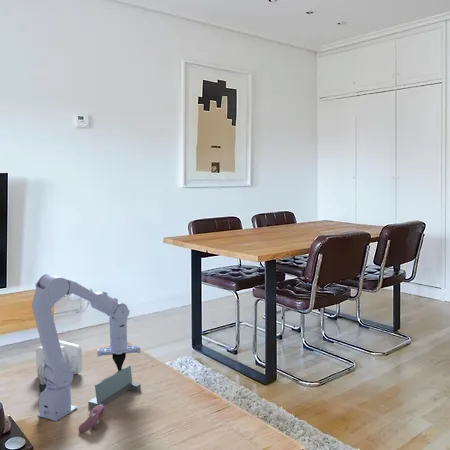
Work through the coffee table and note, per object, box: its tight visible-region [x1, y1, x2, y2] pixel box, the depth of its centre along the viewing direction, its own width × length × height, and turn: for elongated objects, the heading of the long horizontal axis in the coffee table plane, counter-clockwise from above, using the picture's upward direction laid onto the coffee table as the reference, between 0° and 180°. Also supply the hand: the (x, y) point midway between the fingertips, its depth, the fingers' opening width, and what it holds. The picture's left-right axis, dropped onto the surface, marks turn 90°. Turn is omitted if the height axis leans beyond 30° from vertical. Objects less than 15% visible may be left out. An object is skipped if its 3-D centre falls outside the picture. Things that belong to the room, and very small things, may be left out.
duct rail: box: [87, 382, 142, 409], centre depth 166 cm, size 18×8×2 cm, turn 155°
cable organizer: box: [35, 339, 83, 379], centre depth 185 cm, size 15×11×12 cm
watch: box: [37, 363, 47, 393], centre depth 171 cm, size 6×8×11 cm
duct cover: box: [94, 364, 133, 403], centre depth 165 cm, size 18×6×1 cm
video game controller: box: [78, 404, 107, 433], centre depth 147 cm, size 10×5×7 cm, turn 174°
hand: (119, 373), depth 171 cm, fingers closed, pressing on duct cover
